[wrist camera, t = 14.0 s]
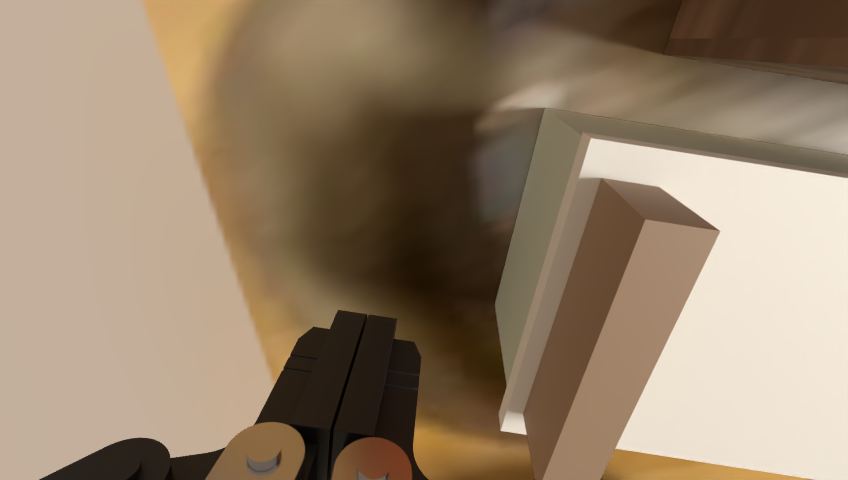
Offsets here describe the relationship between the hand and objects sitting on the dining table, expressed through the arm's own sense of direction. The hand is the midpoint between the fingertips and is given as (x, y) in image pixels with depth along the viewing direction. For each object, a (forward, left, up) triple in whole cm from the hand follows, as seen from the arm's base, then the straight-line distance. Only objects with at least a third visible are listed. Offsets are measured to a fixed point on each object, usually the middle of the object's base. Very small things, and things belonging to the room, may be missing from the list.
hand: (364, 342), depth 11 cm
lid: (-13, 0, -4) cm, 13 cm away
